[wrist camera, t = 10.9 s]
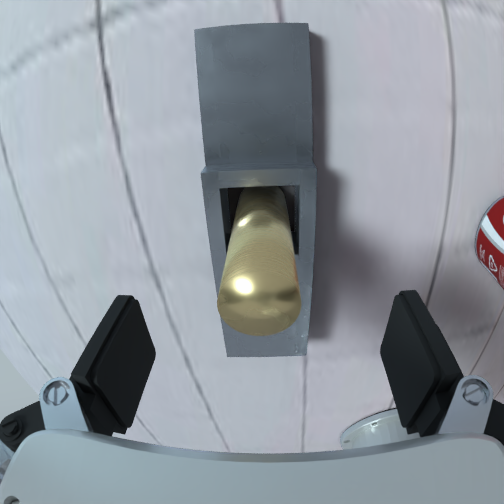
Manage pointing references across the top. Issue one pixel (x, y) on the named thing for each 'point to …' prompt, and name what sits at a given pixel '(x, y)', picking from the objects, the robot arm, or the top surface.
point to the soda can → (492, 241)
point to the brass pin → (260, 266)
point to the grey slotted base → (258, 149)
